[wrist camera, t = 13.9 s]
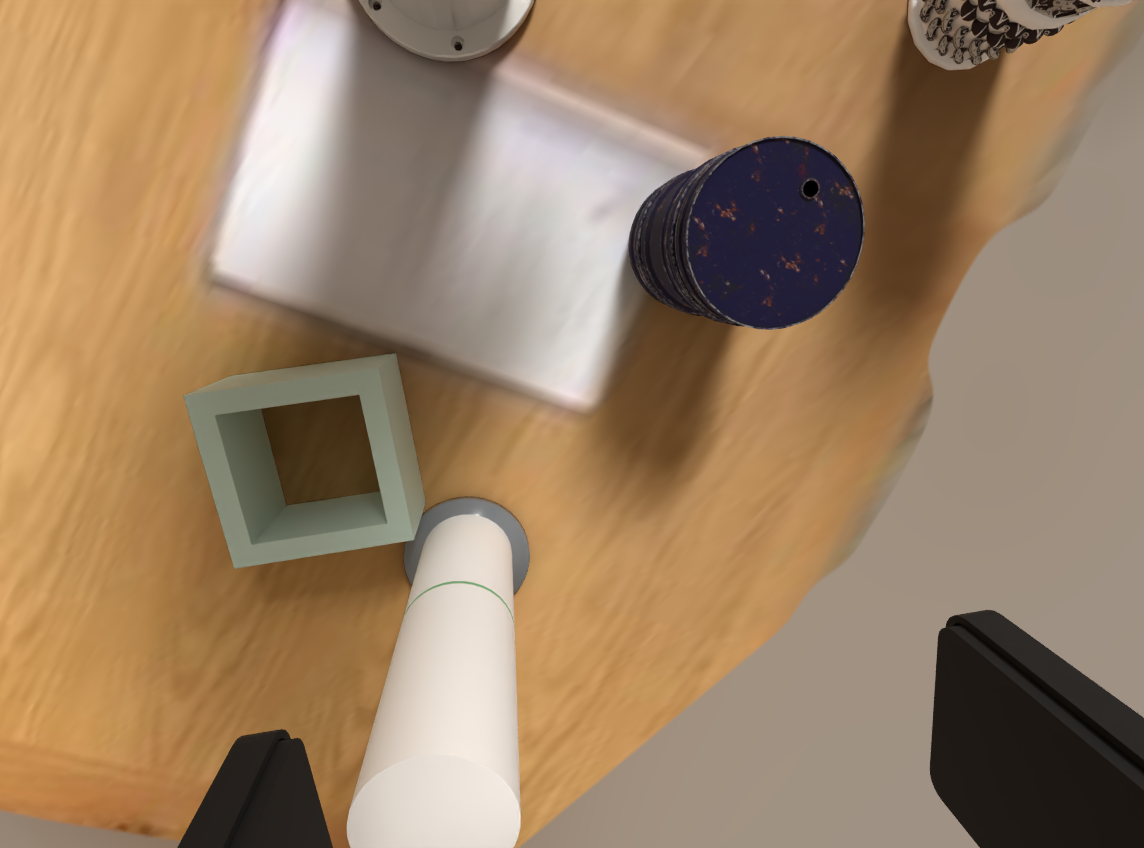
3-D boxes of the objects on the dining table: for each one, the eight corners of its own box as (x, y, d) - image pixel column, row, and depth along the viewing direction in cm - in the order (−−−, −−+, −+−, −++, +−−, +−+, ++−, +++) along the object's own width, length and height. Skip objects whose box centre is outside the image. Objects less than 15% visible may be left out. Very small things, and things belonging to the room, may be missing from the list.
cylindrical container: (418, 592, 50) (342, 893, 26) (425, 510, 49) (351, 751, 25) (506, 598, 51) (510, 893, 27) (516, 518, 50) (530, 757, 26)
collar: (230, 375, 45) (183, 395, 39) (396, 352, 46) (378, 368, 40) (271, 526, 49) (234, 568, 42) (426, 502, 49) (413, 540, 43)
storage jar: (702, 336, 49) (787, 367, 34) (601, 262, 46) (645, 262, 32) (781, 227, 47) (904, 211, 33) (680, 144, 45) (764, 89, 30)
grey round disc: (394, 507, 49) (392, 511, 49) (519, 487, 50) (520, 491, 49) (417, 618, 52) (416, 623, 51) (537, 597, 53) (537, 602, 52)
